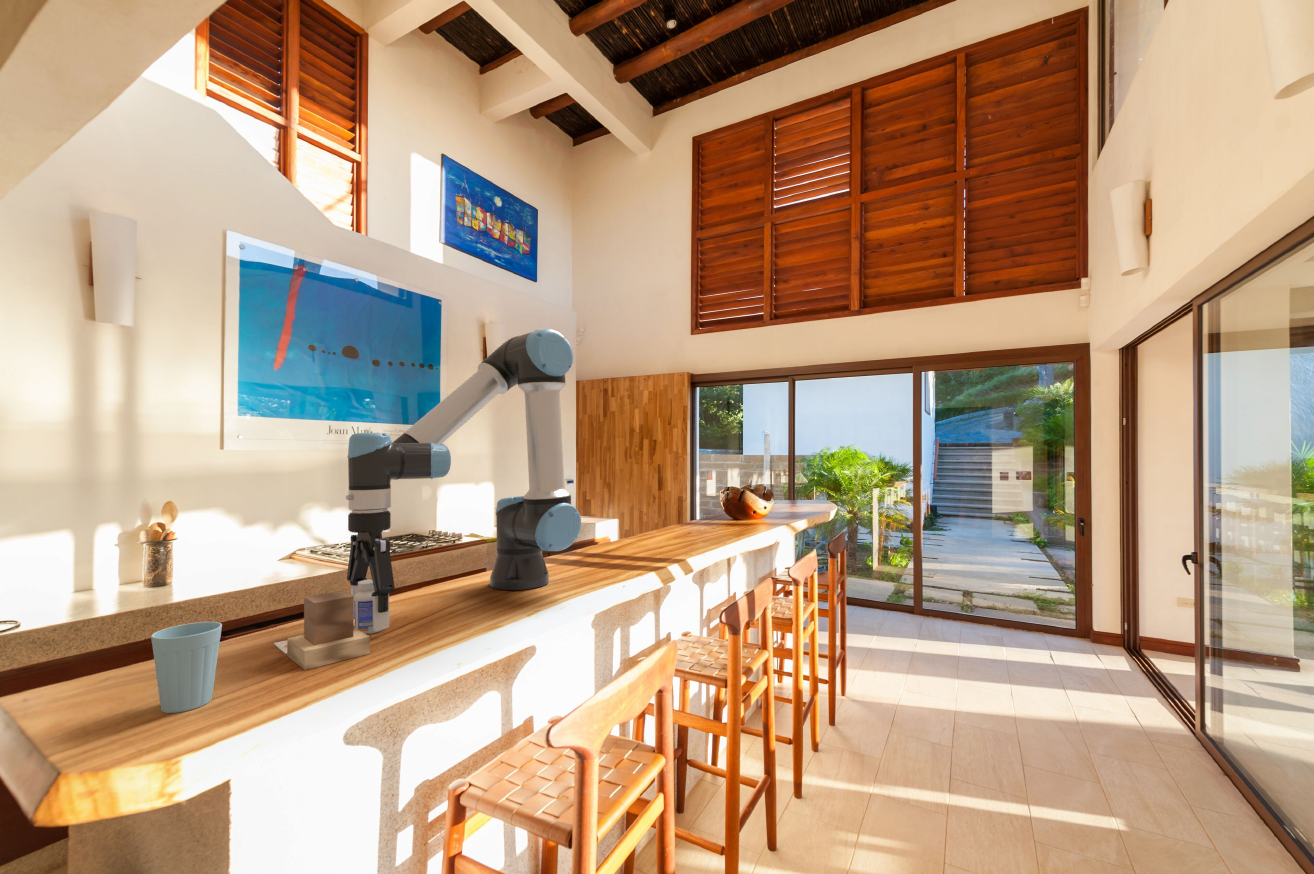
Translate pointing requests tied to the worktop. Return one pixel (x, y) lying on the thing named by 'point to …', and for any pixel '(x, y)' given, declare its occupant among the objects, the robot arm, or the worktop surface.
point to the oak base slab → (327, 650)
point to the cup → (186, 664)
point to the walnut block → (328, 617)
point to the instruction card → (282, 646)
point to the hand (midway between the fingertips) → (369, 622)
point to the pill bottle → (364, 607)
